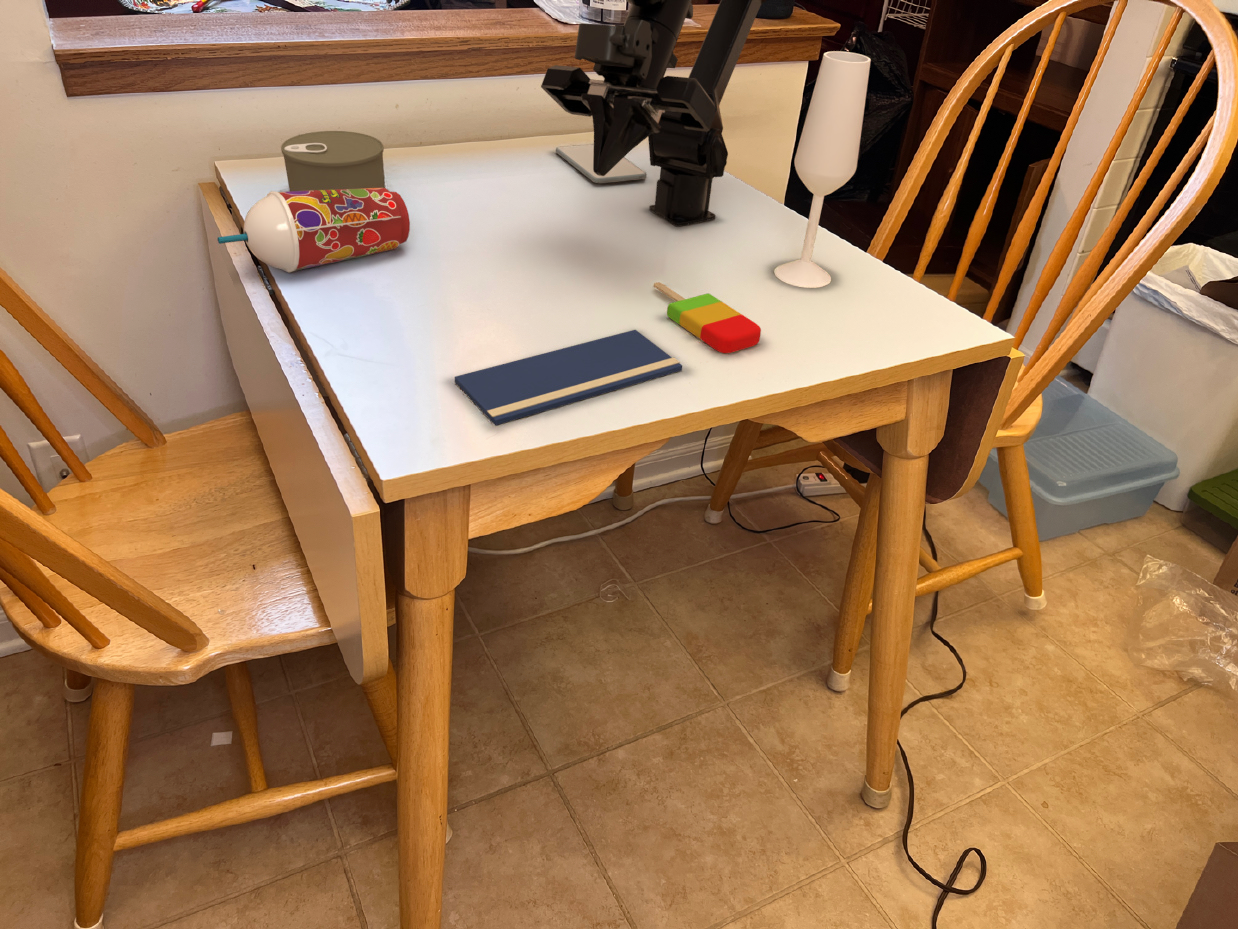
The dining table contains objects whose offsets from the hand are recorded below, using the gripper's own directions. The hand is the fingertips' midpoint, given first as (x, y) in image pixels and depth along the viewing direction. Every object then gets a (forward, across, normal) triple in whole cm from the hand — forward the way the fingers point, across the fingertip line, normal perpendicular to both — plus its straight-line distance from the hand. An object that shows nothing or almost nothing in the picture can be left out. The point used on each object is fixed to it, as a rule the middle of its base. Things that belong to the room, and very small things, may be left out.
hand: (598, 173), depth 94 cm
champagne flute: (-1, +15, +24) cm, 28 cm away
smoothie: (+10, -23, -2) cm, 25 cm away
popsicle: (+10, +12, +9) cm, 18 cm away
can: (+8, -39, +2) cm, 40 cm away
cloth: (+21, +9, -5) cm, 24 cm away
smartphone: (-12, -24, +30) cm, 40 cm away
